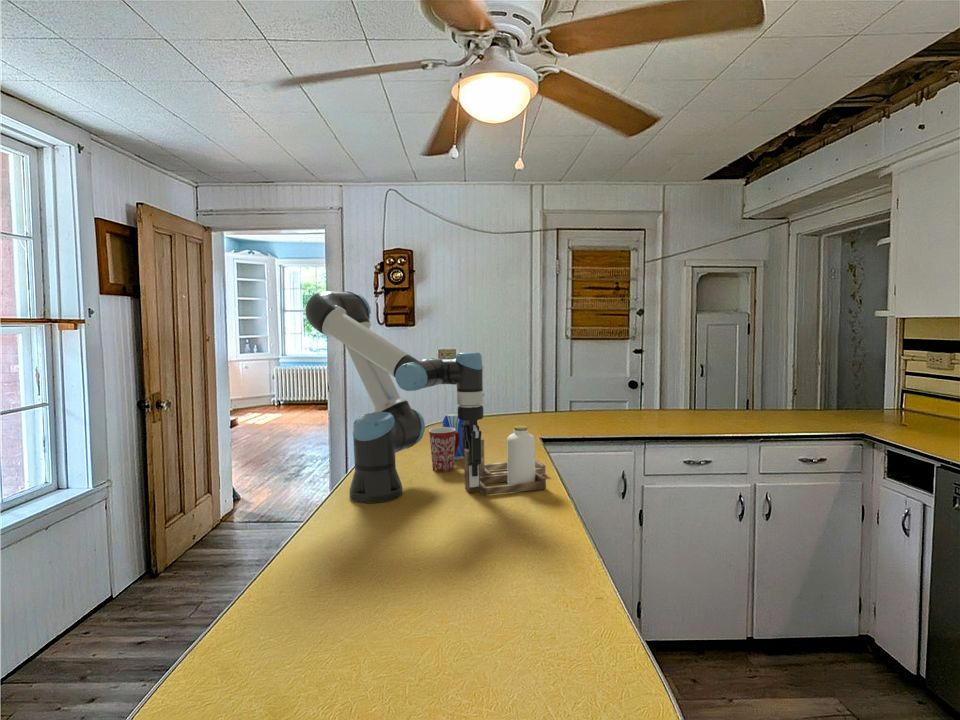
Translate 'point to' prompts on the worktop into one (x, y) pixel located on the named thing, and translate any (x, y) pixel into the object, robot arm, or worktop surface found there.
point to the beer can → (454, 422)
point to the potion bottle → (520, 456)
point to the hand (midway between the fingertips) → (472, 484)
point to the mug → (443, 448)
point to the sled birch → (502, 466)
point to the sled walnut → (538, 484)
